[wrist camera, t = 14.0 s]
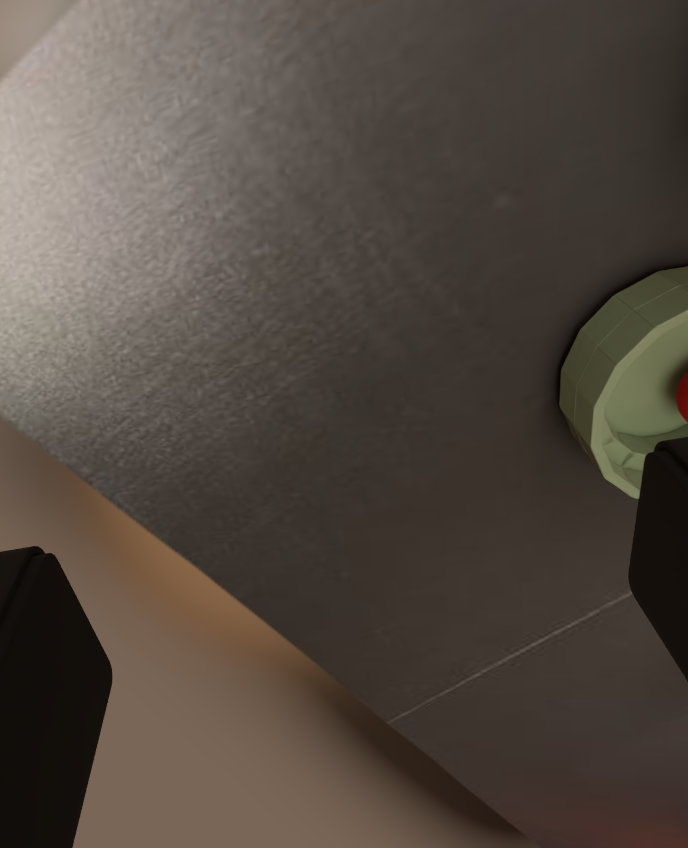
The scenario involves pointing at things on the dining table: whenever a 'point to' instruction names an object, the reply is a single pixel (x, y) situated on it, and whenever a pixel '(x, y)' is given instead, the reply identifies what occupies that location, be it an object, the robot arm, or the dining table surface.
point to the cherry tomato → (683, 397)
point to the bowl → (629, 377)
